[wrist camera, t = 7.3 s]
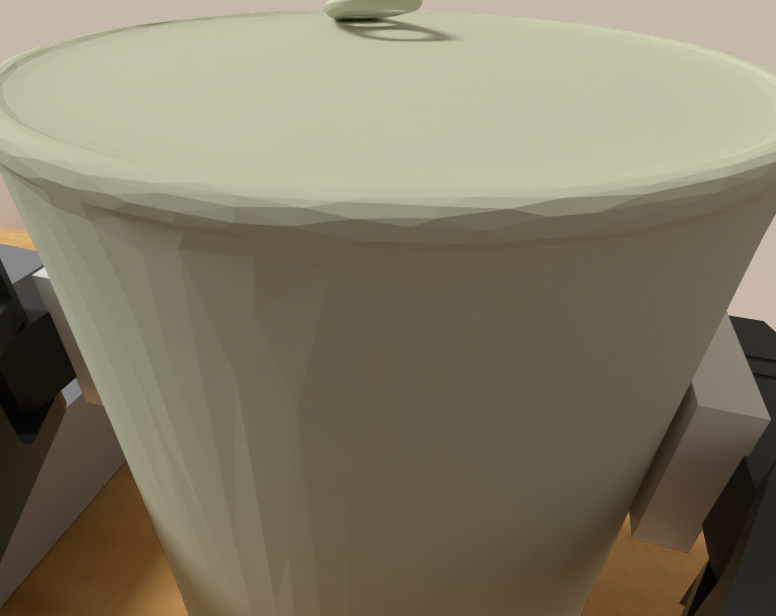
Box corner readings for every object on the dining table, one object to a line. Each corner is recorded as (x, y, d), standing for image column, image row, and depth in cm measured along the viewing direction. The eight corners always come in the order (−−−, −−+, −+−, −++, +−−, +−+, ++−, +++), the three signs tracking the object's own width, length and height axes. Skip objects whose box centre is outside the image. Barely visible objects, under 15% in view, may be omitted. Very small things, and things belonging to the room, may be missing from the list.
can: (492, 400, 18) (569, -20, 11) (659, 733, 10) (1223, 90, 4) (206, 440, 16) (83, -22, 9) (165, 865, 9) (-573, 165, 2)
